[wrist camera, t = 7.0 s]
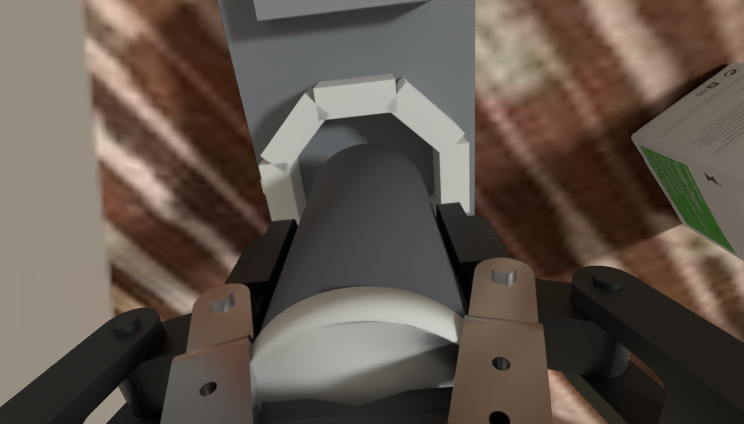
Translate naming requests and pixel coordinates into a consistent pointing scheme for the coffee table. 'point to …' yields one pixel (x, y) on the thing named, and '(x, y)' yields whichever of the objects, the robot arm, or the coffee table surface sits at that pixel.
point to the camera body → (356, 89)
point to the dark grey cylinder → (362, 289)
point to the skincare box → (703, 157)
